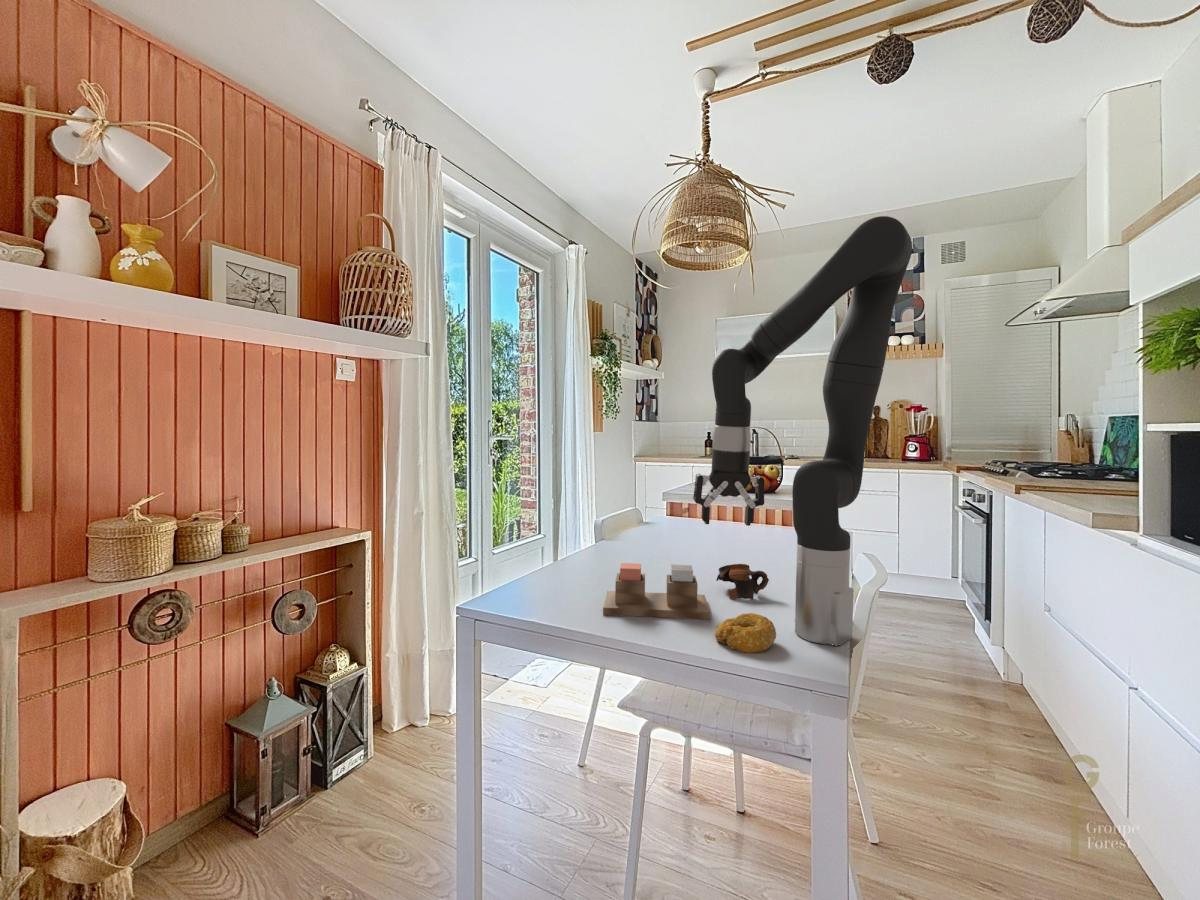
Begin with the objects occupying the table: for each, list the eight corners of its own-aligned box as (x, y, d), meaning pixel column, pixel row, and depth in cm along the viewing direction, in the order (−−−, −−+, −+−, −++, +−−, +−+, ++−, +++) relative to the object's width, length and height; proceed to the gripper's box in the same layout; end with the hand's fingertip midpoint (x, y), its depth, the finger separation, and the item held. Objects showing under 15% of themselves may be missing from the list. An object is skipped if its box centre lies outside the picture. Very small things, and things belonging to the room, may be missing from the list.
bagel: (718, 629, 103) (718, 605, 102) (777, 637, 99) (777, 612, 98) (709, 649, 93) (710, 622, 93) (774, 659, 89) (775, 632, 89)
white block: (691, 587, 115) (691, 565, 115) (692, 594, 110) (693, 570, 110) (670, 587, 115) (671, 564, 115) (671, 593, 111) (672, 570, 111)
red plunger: (640, 585, 116) (641, 563, 116) (640, 592, 111) (640, 569, 111) (621, 585, 116) (621, 562, 116) (619, 591, 112) (620, 568, 112)
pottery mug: (716, 601, 120) (711, 565, 124) (725, 607, 128) (720, 574, 131) (769, 594, 116) (762, 557, 120) (775, 601, 123) (768, 566, 127)
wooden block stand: (704, 601, 118) (704, 572, 118) (709, 619, 107) (710, 587, 107) (607, 597, 120) (607, 569, 120) (603, 614, 109) (603, 583, 109)
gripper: (699, 449, 104) (695, 528, 106) (771, 450, 104) (766, 530, 106) (693, 444, 112) (690, 518, 114) (760, 446, 111) (756, 520, 113)
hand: (727, 524), depth 110 cm, fingers open, 8 cm apart
